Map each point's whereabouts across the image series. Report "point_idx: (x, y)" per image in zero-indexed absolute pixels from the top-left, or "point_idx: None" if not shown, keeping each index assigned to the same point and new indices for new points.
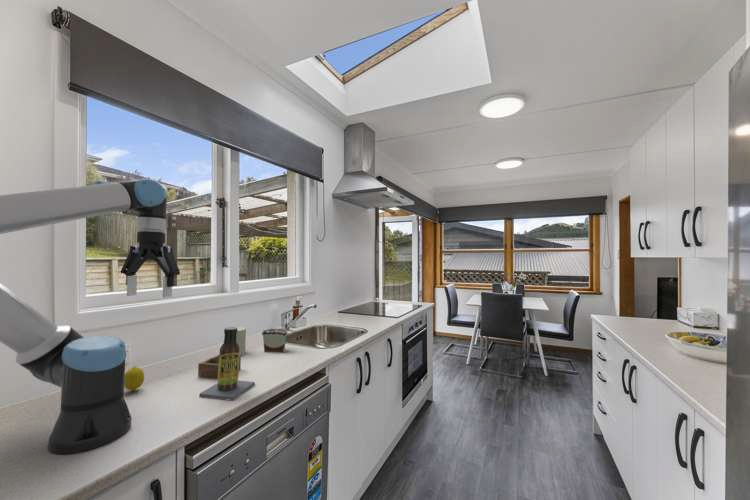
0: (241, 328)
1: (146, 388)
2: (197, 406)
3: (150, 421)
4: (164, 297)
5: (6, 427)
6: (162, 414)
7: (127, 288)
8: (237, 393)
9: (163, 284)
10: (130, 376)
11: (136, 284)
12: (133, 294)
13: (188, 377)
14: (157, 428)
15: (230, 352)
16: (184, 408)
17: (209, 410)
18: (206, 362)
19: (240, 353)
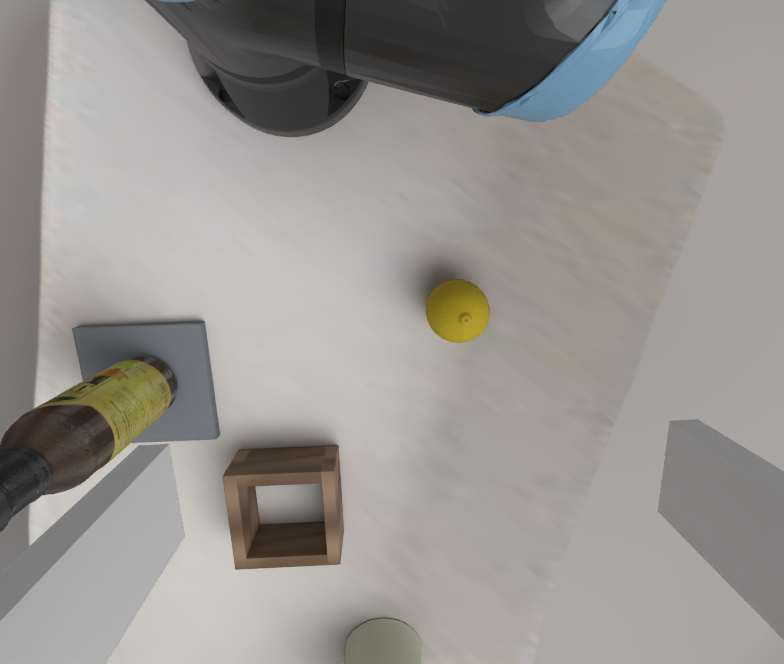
0: None
1: (426, 330)
2: (153, 265)
3: (204, 151)
4: (142, 446)
5: None
6: (210, 195)
7: (772, 471)
8: (81, 355)
9: (40, 571)
10: (447, 289)
11: (772, 622)
12: (669, 484)
13: (368, 435)
14: (146, 122)
15: (17, 420)
16: (180, 244)
17: (95, 252)
18: (323, 494)
19: (347, 646)
